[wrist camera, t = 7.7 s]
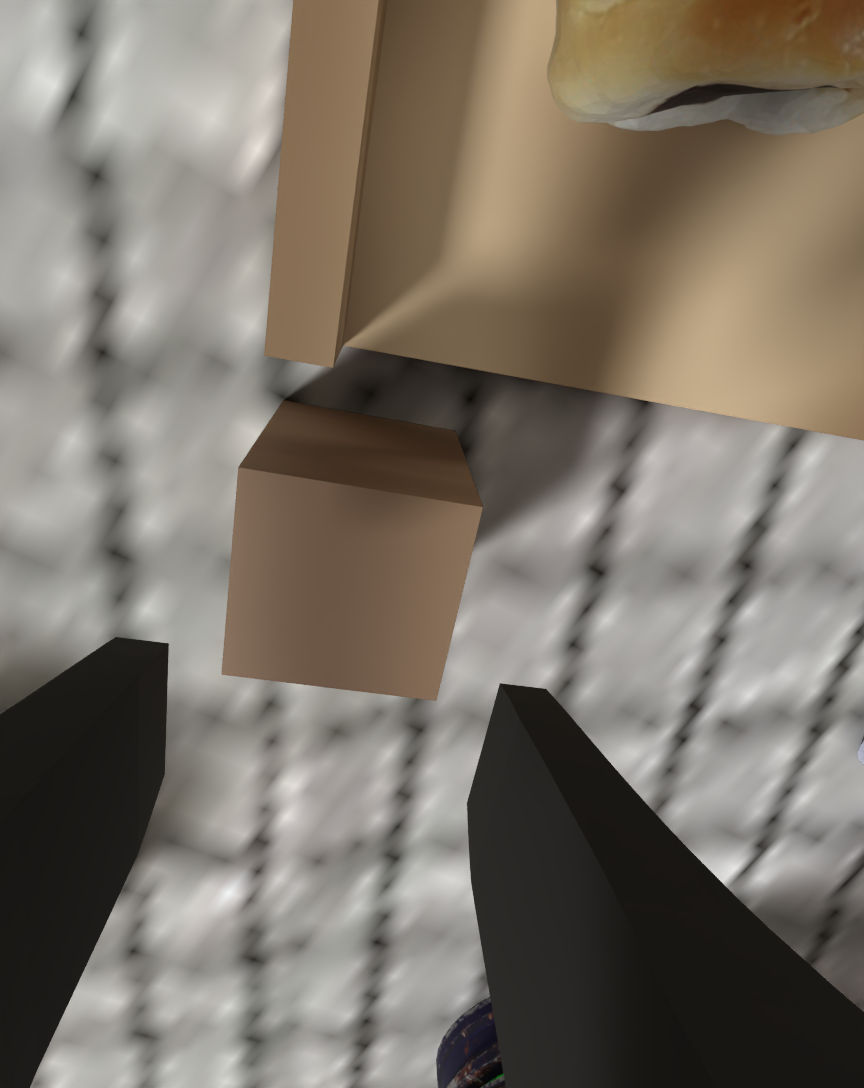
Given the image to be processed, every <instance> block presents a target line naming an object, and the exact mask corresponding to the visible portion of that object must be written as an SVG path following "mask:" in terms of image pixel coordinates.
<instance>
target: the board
mask: <svg viewBox="0 0 864 1088" xmlns="http://www.w3.org/2000/svg"><path fill="white" fill-rule="evenodd" d="M556 13H557V12H556V0H293V12H292V24H291V36H290V48H289V61H288V73H287V85H286V97H285V109H284V122H283V134H282V146H281V158H280V170H279V183H278V195H277V207H276V219H275V231H274V244H273V256H272V268H271V280H270V292H269V305H268V317H267V329H266V341H265V354H264V356H270V357H275V358H281V359H287V360H292V361H298V362H303V363H309V364H315V365H320V366H326V367H332V368H333V367H334V365H335V362H336V360H337V358H338V356H339V354H340V351H341V349H342V347H343V345H344V346H350V347H355V348H361V349H366V350H372V351H377V352H383V353H388V354H393V355H399V356H404V357H410V358H415V359H421V360H426V361H432V362H437V363H443V364H448V365H454V366H459V367H465V368H470V369H476V370H481V371H487V372H492V373H498V374H503V375H509V376H514V377H520V378H525V379H530V380H536V381H541V382H547V383H552V384H558V385H563V386H569V387H574V388H580V389H585V390H591V391H596V392H602V393H607V394H613V395H618V396H624V397H629V398H635V399H640V400H646V401H651V402H657V403H662V404H667V405H673V406H678V407H684V408H689V409H695V410H700V411H706V412H711V413H717V414H722V415H728V416H733V417H739V418H744V419H750V420H755V421H761V422H766V423H772V424H777V425H783V426H788V427H794V428H799V429H804V430H810V431H815V432H821V433H826V434H832V435H837V436H843V437H848V438H854V439H859V440H864V113H863V114H861V115H860V116H858V117H856V118H854V119H852V120H850V121H848V122H846V123H844V124H842V125H840V126H837V127H833V128H830V129H826V130H823V131H819V132H816V133H812V134H810V133H789V134H784V135H778V136H777V135H771V134H764V133H760V132H757V131H754V130H751V129H748V128H747V127H746V126H745V125H744V124H740V123H737V122H734V121H732V120H729V119H724V120H718V121H715V122H712V123H706V124H700V125H695V126H678V127H674V128H669V129H665V130H660V131H649V130H648V131H634V130H627V129H620V128H617V127H614V126H612V125H610V124H608V123H579V122H576V121H573V120H571V119H570V118H569V117H567V116H566V115H565V114H564V113H563V112H562V111H561V110H560V108H559V107H558V106H557V105H556V103H555V102H554V99H553V97H552V94H551V89H550V85H549V83H548V80H547V66H548V62H549V59H550V55H551V51H552V47H553V43H554V39H555V33H556Z"/></svg>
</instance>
